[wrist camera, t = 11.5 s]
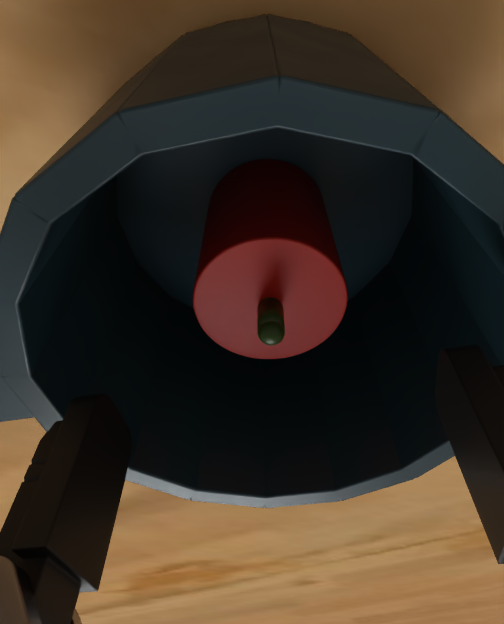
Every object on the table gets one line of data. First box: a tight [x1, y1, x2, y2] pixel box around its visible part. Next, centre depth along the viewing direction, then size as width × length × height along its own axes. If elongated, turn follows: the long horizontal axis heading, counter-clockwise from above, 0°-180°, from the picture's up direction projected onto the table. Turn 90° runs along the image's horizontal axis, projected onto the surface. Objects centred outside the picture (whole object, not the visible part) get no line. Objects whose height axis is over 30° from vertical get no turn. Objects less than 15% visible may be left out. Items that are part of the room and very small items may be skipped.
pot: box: [0, 14, 504, 508], centre depth 15 cm, size 14×19×10 cm
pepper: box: [193, 159, 348, 359], centre depth 15 cm, size 5×5×8 cm
